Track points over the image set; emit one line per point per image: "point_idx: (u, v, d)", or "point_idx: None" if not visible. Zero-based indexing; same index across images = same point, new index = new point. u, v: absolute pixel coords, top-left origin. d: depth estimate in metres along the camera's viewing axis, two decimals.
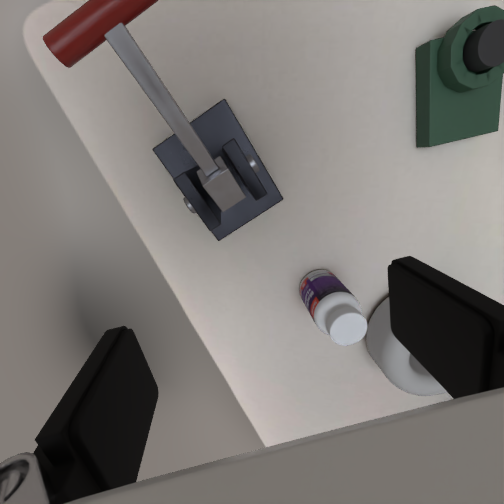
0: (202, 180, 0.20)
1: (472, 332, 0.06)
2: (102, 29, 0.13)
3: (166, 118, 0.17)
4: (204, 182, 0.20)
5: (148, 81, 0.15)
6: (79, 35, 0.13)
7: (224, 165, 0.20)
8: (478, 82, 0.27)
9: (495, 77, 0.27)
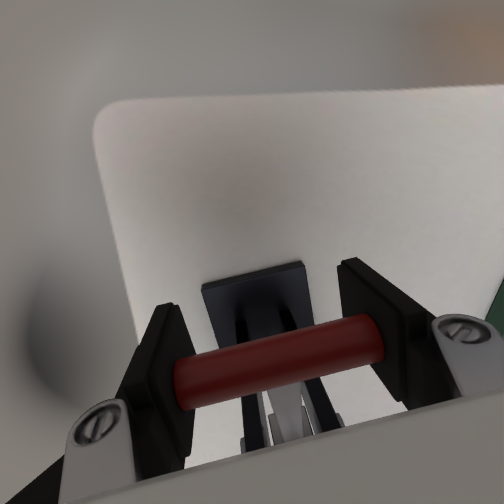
0: None
1: (389, 325, 0.07)
2: (270, 388, 0.08)
3: (281, 424, 0.12)
4: None
5: (287, 408, 0.10)
6: (234, 396, 0.08)
7: None
8: None
9: None
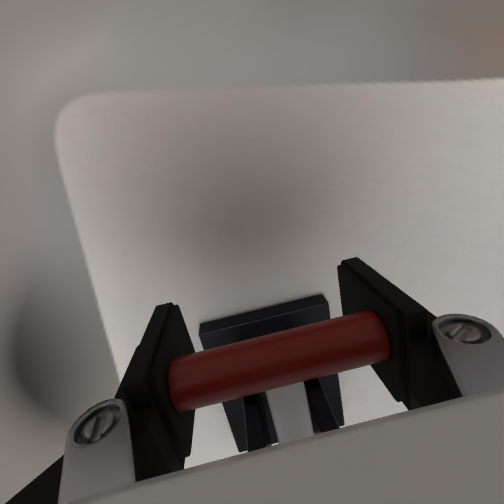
0: None
1: (390, 325, 0.07)
2: (269, 388, 0.07)
3: None
4: None
5: None
6: (229, 390, 0.07)
7: None
8: None
9: None
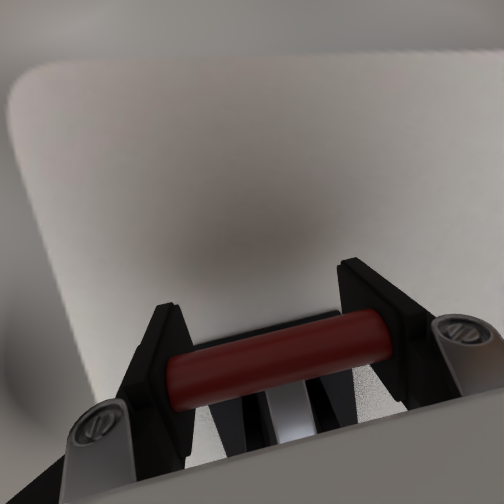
0: None
1: (389, 325, 0.07)
2: (268, 384, 0.07)
3: None
4: None
5: None
6: (226, 383, 0.07)
7: None
8: None
9: None
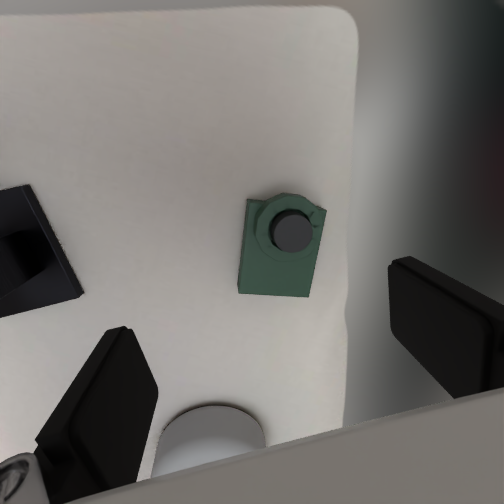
0: None
1: (472, 332, 0.06)
2: None
3: None
4: None
5: None
6: None
7: None
8: (282, 257, 0.27)
9: (299, 257, 0.28)
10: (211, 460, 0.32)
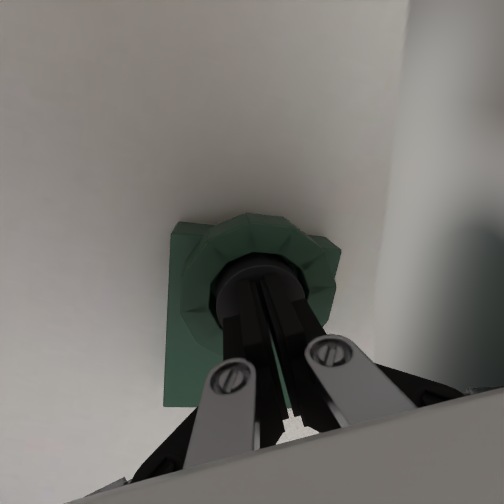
0: None
1: (277, 344, 0.07)
2: None
3: None
4: None
5: None
6: None
7: None
8: None
9: None
10: None
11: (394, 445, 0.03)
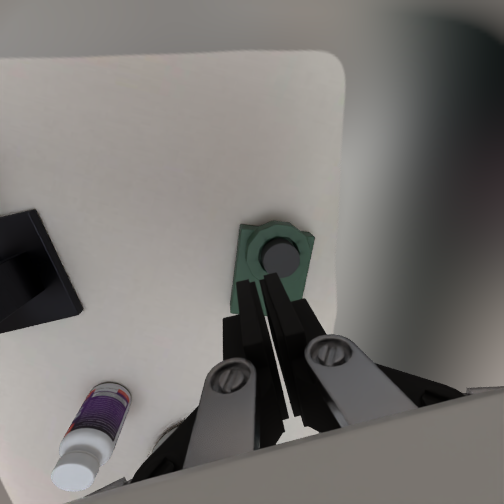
0: None
1: (277, 344, 0.07)
2: None
3: None
4: None
5: None
6: None
7: None
8: None
9: (287, 281, 0.29)
10: None
11: (394, 445, 0.03)
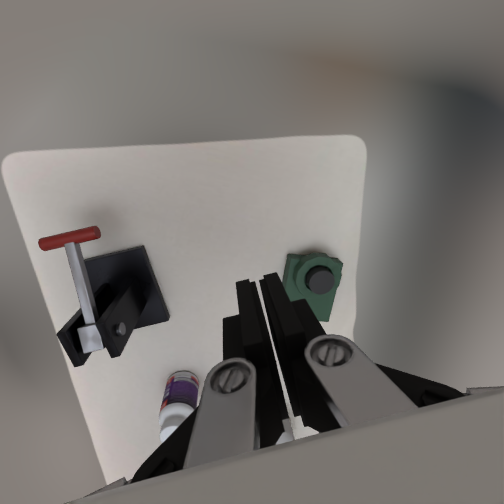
0: (81, 326, 0.30)
1: (277, 344, 0.07)
2: (63, 242, 0.30)
3: (76, 284, 0.30)
4: (80, 327, 0.30)
5: (74, 265, 0.30)
6: (53, 241, 0.30)
7: None
8: (312, 296, 0.40)
9: (324, 296, 0.40)
10: None
11: (394, 445, 0.03)
